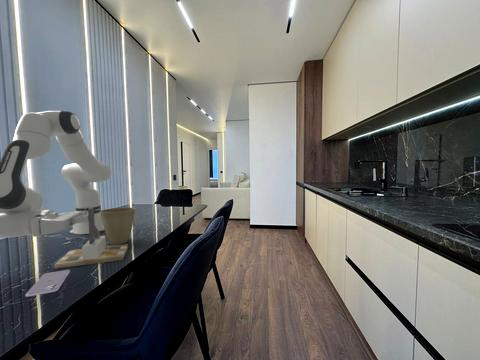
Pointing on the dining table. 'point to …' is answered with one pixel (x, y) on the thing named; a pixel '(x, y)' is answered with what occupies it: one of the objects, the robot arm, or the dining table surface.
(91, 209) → the main switch
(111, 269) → the dining table surface
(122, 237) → the plant pot
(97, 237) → the aux switch
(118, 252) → the base
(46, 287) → the mobile phone
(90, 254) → the switch housing
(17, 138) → the robot arm
